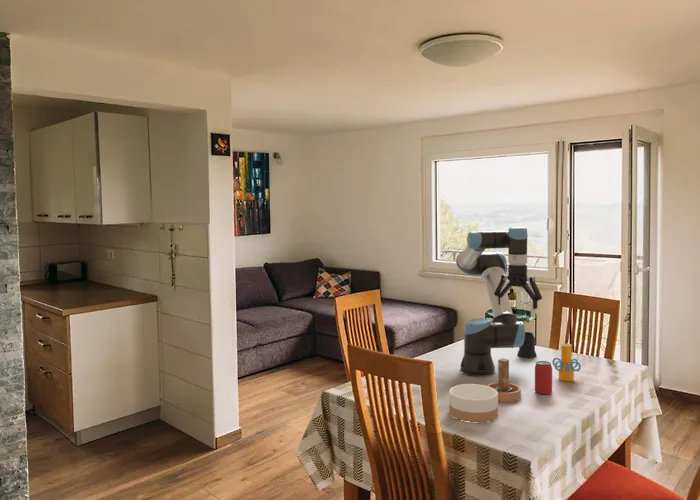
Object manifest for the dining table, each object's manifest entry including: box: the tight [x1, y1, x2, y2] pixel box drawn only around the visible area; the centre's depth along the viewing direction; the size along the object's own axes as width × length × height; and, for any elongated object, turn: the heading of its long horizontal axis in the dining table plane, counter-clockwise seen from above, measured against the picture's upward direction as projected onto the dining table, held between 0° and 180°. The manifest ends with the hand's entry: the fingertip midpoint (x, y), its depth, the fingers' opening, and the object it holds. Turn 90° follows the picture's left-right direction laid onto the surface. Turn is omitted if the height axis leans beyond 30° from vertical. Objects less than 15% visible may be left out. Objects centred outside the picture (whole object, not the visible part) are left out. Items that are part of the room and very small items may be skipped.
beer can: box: [534, 360, 553, 395], centre depth 221 cm, size 7×7×12 cm
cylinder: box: [551, 343, 582, 382], centre depth 235 cm, size 12×10×15 cm
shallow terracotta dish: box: [486, 381, 522, 403], centre depth 217 cm, size 13×13×4 cm
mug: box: [516, 331, 538, 359], centre depth 273 cm, size 12×9×11 cm
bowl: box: [448, 383, 499, 423], centre depth 200 cm, size 17×17×8 cm
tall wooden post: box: [497, 357, 510, 391], centre depth 217 cm, size 3×3×14 cm
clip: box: [495, 387, 513, 393], centre depth 217 cm, size 5×5×2 cm
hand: (517, 314), depth 232 cm, fingers open, 13 cm apart
